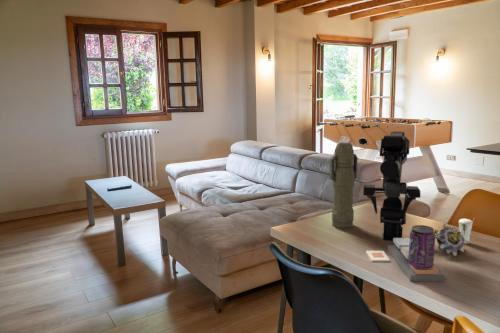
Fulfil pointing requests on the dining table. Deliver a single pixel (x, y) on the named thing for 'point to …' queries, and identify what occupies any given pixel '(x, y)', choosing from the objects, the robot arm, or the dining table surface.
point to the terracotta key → (425, 270)
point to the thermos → (343, 185)
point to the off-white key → (405, 251)
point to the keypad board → (408, 271)
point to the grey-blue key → (401, 242)
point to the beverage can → (421, 247)
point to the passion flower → (450, 240)
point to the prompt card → (378, 256)
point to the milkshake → (465, 228)
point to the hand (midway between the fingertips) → (389, 214)
